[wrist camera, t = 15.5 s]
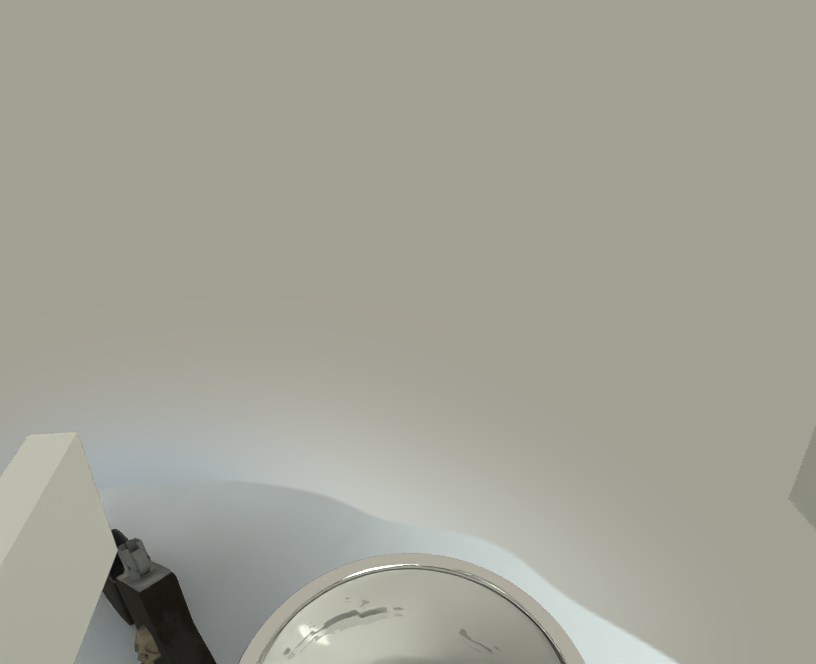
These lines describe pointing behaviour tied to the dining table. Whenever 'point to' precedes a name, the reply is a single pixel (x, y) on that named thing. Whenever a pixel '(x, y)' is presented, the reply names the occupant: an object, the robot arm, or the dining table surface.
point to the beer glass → (411, 618)
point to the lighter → (153, 607)
